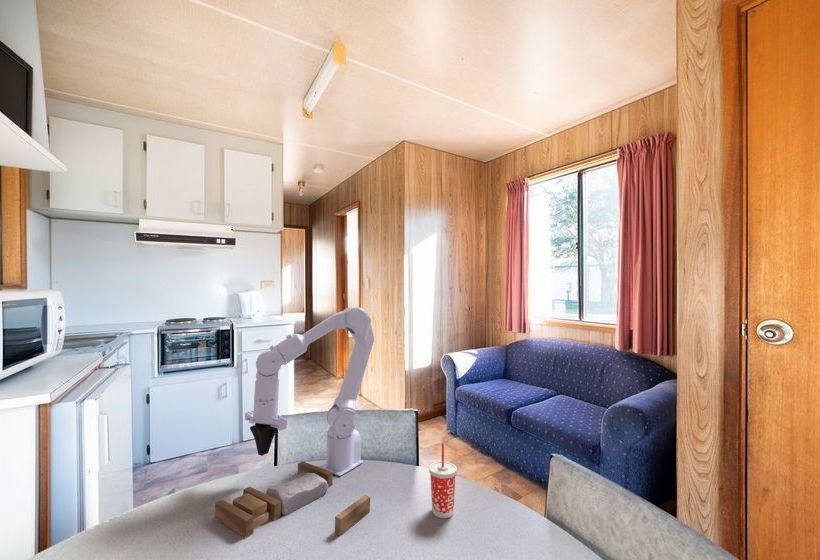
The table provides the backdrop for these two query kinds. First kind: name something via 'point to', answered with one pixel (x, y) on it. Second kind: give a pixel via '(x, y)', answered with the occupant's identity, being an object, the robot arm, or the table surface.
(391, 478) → the table surface
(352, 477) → the table surface
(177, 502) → the table surface
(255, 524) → the offcut low
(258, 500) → the offcut top
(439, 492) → the beverage cup
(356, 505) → the wooden bar set
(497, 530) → the table surface
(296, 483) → the stone block
